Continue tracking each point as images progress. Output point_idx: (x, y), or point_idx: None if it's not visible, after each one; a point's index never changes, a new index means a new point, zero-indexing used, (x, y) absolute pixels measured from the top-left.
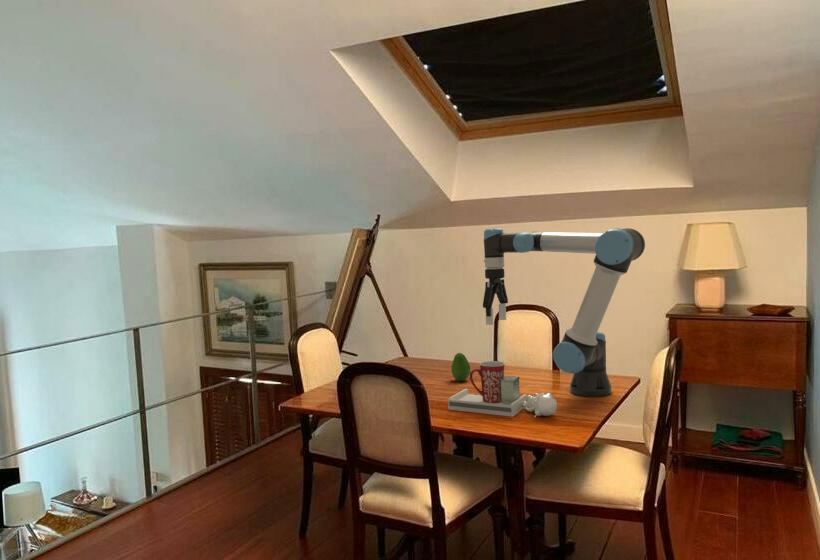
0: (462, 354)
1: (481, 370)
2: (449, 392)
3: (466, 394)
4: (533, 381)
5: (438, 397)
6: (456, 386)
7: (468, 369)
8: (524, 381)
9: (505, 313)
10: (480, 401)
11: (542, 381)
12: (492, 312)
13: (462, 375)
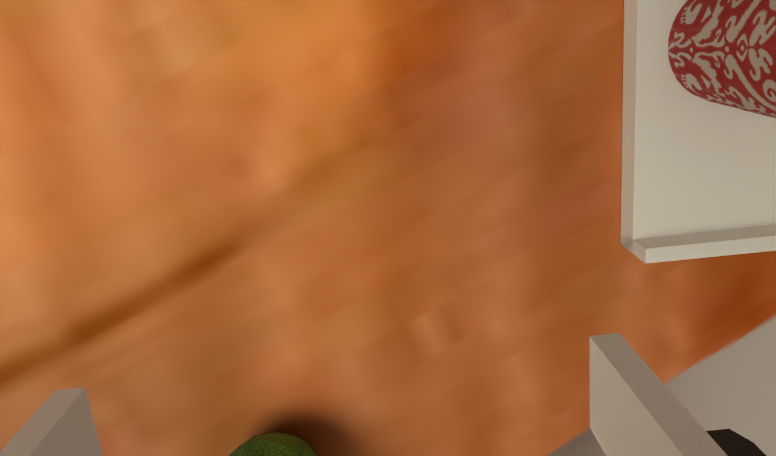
0: None
1: None
2: (528, 382)
3: (655, 238)
4: (77, 77)
5: None
6: (402, 412)
7: (269, 451)
8: (108, 130)
9: (21, 452)
10: None
11: (45, 22)
12: (706, 450)
13: (310, 450)
